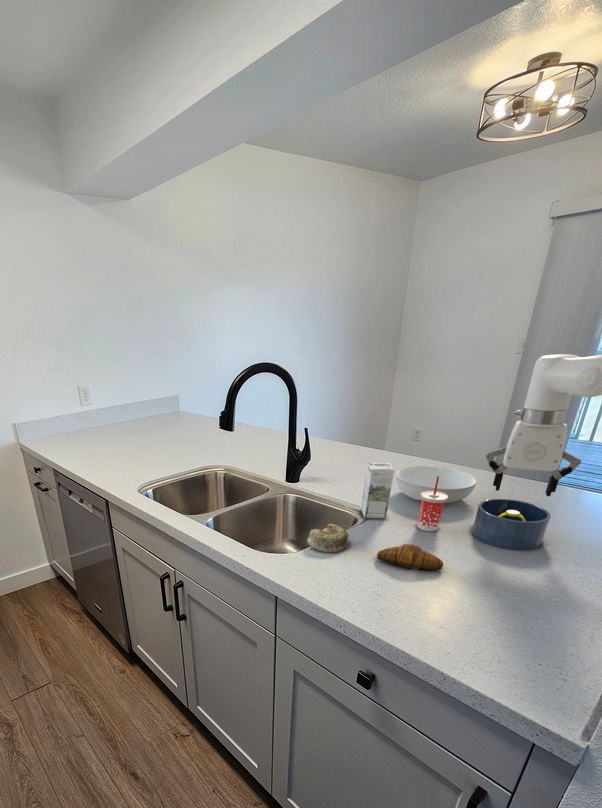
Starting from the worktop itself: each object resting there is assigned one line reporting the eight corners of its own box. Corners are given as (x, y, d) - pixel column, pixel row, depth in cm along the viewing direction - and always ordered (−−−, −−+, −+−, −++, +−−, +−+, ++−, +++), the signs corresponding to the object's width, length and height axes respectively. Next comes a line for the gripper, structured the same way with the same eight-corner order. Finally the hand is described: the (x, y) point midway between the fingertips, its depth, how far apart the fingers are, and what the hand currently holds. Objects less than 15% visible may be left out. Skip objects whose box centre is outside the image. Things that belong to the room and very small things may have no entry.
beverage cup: (445, 531, 110) (457, 479, 104) (422, 533, 110) (433, 481, 104) (432, 521, 116) (443, 471, 110) (410, 523, 116) (419, 473, 109)
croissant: (442, 562, 97) (446, 543, 95) (442, 577, 92) (447, 557, 90) (377, 552, 103) (380, 533, 101) (374, 566, 97) (377, 546, 95)
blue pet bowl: (539, 530, 108) (548, 504, 105) (542, 555, 98) (552, 527, 95) (474, 519, 116) (480, 495, 112) (470, 541, 105) (477, 515, 102)
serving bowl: (470, 516, 117) (476, 492, 114) (388, 505, 127) (391, 482, 124) (471, 490, 133) (477, 469, 130) (398, 482, 143) (401, 462, 140)
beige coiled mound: (356, 545, 107) (360, 526, 105) (329, 559, 103) (333, 539, 100) (324, 529, 114) (327, 511, 112) (298, 541, 109) (300, 523, 107)
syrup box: (382, 511, 124) (389, 461, 117) (386, 519, 118) (394, 468, 112) (361, 510, 125) (367, 461, 118) (364, 519, 119) (371, 468, 113)
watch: (522, 534, 106) (529, 512, 103) (521, 539, 104) (529, 516, 101) (493, 529, 109) (499, 507, 106) (492, 533, 107) (498, 511, 104)
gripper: (494, 418, 95) (477, 492, 103) (597, 422, 86) (570, 502, 94) (495, 412, 101) (479, 482, 108) (592, 415, 92) (567, 491, 99)
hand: (521, 491), depth 101 cm, fingers open, 9 cm apart
